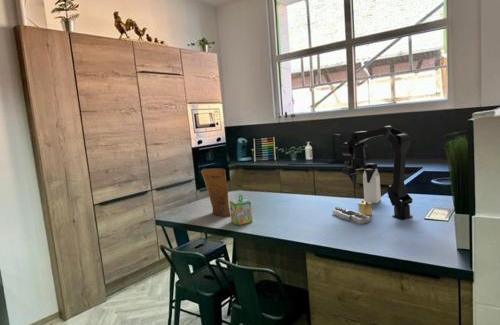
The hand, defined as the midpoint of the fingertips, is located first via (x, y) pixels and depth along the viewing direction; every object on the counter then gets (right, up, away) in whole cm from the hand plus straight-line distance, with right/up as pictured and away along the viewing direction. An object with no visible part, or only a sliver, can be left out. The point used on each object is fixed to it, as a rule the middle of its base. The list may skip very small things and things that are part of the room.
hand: (361, 184), depth 179 cm
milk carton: (+11, -11, +13) cm, 20 cm away
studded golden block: (-1, -15, -8) cm, 17 cm away
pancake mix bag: (-77, -19, +18) cm, 81 cm away
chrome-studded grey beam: (-9, -16, -12) cm, 22 cm away
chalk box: (-64, -20, 0) cm, 67 cm away
